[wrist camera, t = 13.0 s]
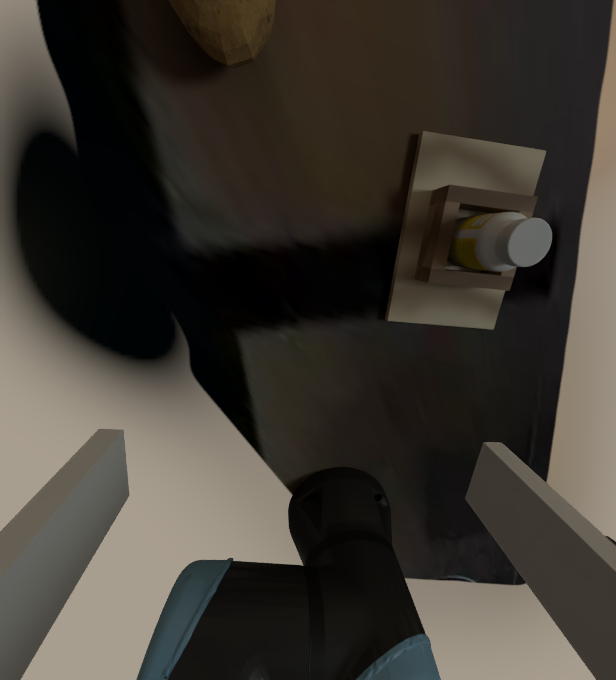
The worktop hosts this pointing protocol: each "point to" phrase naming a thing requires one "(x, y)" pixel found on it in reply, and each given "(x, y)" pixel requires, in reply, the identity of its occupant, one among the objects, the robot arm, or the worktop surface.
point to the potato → (228, 27)
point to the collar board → (439, 221)
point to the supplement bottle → (499, 241)
